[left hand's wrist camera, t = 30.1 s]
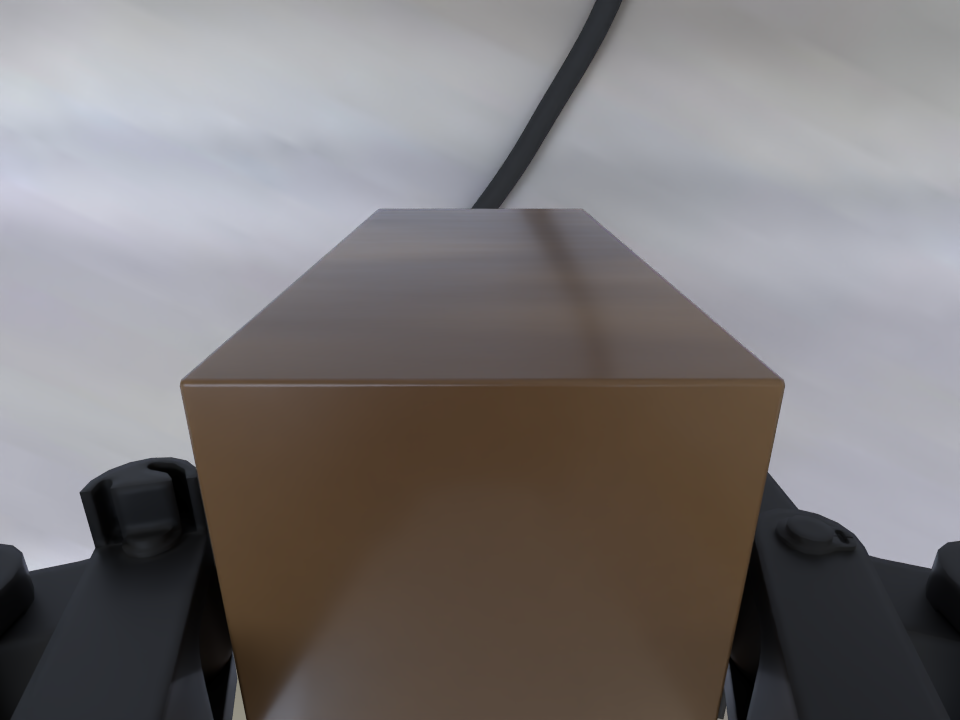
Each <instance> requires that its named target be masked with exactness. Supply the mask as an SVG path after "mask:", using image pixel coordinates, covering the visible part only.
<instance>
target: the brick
mask: <svg viewBox="0 0 960 720" xmlns="http://www.w3.org/2000/svg"><path fill="white" fill-rule="evenodd" d="M784 388H785V383H784V380H783V379H782V378H781V377H780V376H779V375H777V374H776V373H775V372H774V371H773V370H771V369H770V368H769V367H768V366H767V365H766V364H764V363H763V362H762V361H761V360H760V359H759V358H757V357H756V356H755V355H754V354H753V353H751V352H750V351H749V350H748V349H747V348H746V347H744V346H743V345H742V344H741V343H740V342H739V341H737V340H736V339H735V338H734V337H733V336H731V335H730V334H729V333H728V332H727V331H726V330H724V329H723V328H722V327H721V326H720V325H719V324H717V323H716V322H715V321H714V320H713V319H711V318H710V317H709V316H708V315H707V314H706V313H704V312H703V311H702V310H701V309H700V308H699V307H697V306H696V305H695V304H694V303H693V302H691V301H690V300H689V299H688V298H687V297H686V296H684V295H683V294H682V293H681V292H680V291H679V290H677V289H676V288H675V287H674V286H673V285H671V284H670V283H669V282H668V281H667V280H666V279H664V278H663V277H662V276H661V275H660V274H659V273H657V272H656V271H655V270H654V269H653V268H651V267H650V266H649V265H648V264H647V263H646V262H644V261H643V260H642V259H641V258H640V257H639V256H637V255H636V254H635V253H634V252H633V251H631V250H630V249H629V248H628V247H627V246H626V245H624V244H623V243H622V242H621V241H620V240H619V239H617V238H616V237H615V236H614V235H613V234H611V233H610V232H609V231H608V230H607V229H606V228H604V227H603V226H602V225H601V224H600V223H599V222H597V221H596V220H595V219H594V218H593V217H591V216H590V215H589V214H588V213H587V212H586V211H584V210H583V209H378V210H377V211H376V212H375V213H374V214H372V215H371V216H370V217H369V218H368V219H367V220H365V221H364V222H363V223H362V224H361V225H360V226H359V227H357V228H356V229H355V230H354V231H353V232H352V233H350V234H349V235H348V236H347V237H346V238H345V239H344V240H342V241H341V242H340V243H339V244H338V245H337V246H335V247H334V248H333V249H332V250H331V251H330V252H329V253H327V254H326V255H325V256H324V257H323V258H322V259H320V260H319V261H318V262H317V263H316V264H315V265H313V266H312V267H311V268H310V269H309V270H308V271H307V272H305V273H304V274H303V275H302V276H301V277H300V278H298V279H297V280H296V281H295V282H294V283H293V284H292V285H290V286H289V287H288V288H287V289H286V290H285V291H283V292H282V293H281V294H280V295H279V296H278V297H276V298H275V299H274V300H273V301H272V302H271V303H270V304H268V305H267V306H266V307H265V308H264V309H263V310H261V311H260V312H259V313H258V314H257V315H256V316H255V317H253V318H252V319H251V320H250V321H249V322H248V323H246V324H245V325H244V326H243V327H242V328H241V329H239V330H238V331H237V332H236V333H235V334H234V335H233V336H231V337H230V338H229V339H228V340H227V341H226V342H224V343H223V344H222V345H221V346H220V347H219V348H218V349H216V350H215V351H214V352H213V353H212V354H211V355H209V356H208V357H207V358H206V359H205V360H204V361H203V362H201V363H200V364H199V365H198V366H197V367H196V368H194V369H193V370H192V371H191V372H190V373H189V374H187V375H186V376H185V377H184V378H183V379H182V380H181V383H180V389H181V394H182V399H183V404H184V409H185V414H186V419H187V424H188V429H189V434H190V439H191V444H192V449H193V454H194V459H195V464H196V469H197V474H198V479H199V484H200V489H201V494H202V499H203V504H204V509H205V514H206V519H207V524H208V529H209V534H210V539H211V544H212V549H213V554H214V559H215V564H216V569H217V574H218V579H219V584H220V589H221V594H222V599H223V604H224V609H225V614H226V619H227V624H228V629H229V634H230V639H231V644H232V649H233V654H234V659H235V664H236V669H237V674H238V679H239V684H240V689H241V694H242V699H243V704H244V709H245V714H246V719H247V720H717V718H718V713H719V709H720V704H721V699H722V694H723V689H724V684H725V679H726V674H727V669H728V664H729V659H730V654H731V649H732V645H733V640H734V635H735V630H736V625H737V620H738V615H739V610H740V605H741V600H742V595H743V590H744V585H745V581H746V576H747V571H748V566H749V561H750V556H751V551H752V546H753V541H754V536H755V531H756V526H757V521H758V516H759V512H760V507H761V502H762V497H763V492H764V487H765V482H766V477H767V472H768V467H769V462H770V457H771V452H772V448H773V443H774V438H775V433H776V428H777V423H778V418H779V413H780V408H781V403H782V398H783V393H784Z"/></svg>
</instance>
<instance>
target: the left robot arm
mask: <svg viewBox="0 0 960 720" xmlns="http://www.w3.org/2000/svg"><path fill="white" fill-rule="evenodd" d="M621 2H622V0H596V2H595V5H594V7H593V9H592V11H591V13H590V15H589V18H588V20H587V22H586V24H585V25H584V27H583V29H582V31H581V33H580V35H579V37H578V39H577V41H576V42H575V44H574V46H573V48H572V50H571V51H570V53H569V55H568V57H567V58H566V60H565V62H564V63H563V65H562V67H561V68H560V70H559V72H558V74H557V75H556V77H555V79H554V80H553V82H552V84H551V85H550V87H549V89H548V90H547V92H546V94H545V95H544V97H543V99H542V100H541V102H540V104H539V105H538V107H537V109H536V110H535V112H534V114H533V116H532V117H531V119H530V121H529V123H528V124H527V126H526V128H525V129H524V131H523V133H522V135H521V136H520V138H519V140H518V141H517V143H516V145H515V146H514V148H513V150H512V151H511V153H510V154H509V156H508V158H507V159H506V161H505V162H504V164H503V165H502V167H501V168H500V170H499V171H498V173H497V174H496V176H495V177H494V178H493V180H492V181H491V183H490V184H489V185H488V187H487V188H486V190H485V191H484V192H483V194H482V195H481V196H480V198H479V199H478V201H477V202H476V203H475V204H474V206H473V207H472V208H471V209H498V208H499V206H500V205H501V204H502V202H503V201H504V200H505V198H506V197H507V196H508V194H509V193H510V191H511V190H512V189H513V187H514V186H515V184H516V183H517V181H518V180H519V179H520V177H521V176H522V174H523V173H524V171H525V170H526V168H527V167H528V165H529V163H530V162H531V160H532V159H533V157H534V156H535V154H536V152H537V151H538V149H539V147H540V146H541V144H542V142H543V141H544V139H545V137H546V136H547V134H548V132H549V130H550V129H551V127H552V125H553V124H554V122H555V120H556V119H557V117H558V115H559V114H560V112H561V111H562V109H563V107H564V106H565V104H566V102H567V101H568V99H569V97H570V96H571V94H572V93H573V91H574V89H575V88H576V86H577V84H578V83H579V81H580V79H581V78H582V76H583V75H584V73H585V71H586V69H587V68H588V66H589V64H590V63H591V61H592V59H593V58H594V56H595V54H596V52H597V50H598V49H599V47H600V45H601V43H602V41H603V39H604V38H605V36H606V34H607V32H608V30H609V28H610V26H611V24H612V22H613V20H614V17H615V15H616V13H617V11H618V9H619V7H620V4H621ZM80 496H81V499H82V503H83V506H84V510H85V513H86V517H87V520H88V524H89V527H90V531H91V534H92V538H93V541H94V544H95V550H94V552H93V554H92V556H91V558H90V559H86V560H83V561H79V562H74V563H69V564H64V565H59V566H54V567H49V568H44V569H39V570H34V571H28V568H27V565H26V562H25V559H24V556H23V553H22V552H21V551H19V550H18V549H17V548H16V547H14V546H13V545H5V544H0V720H232V716H233V708H234V700H235V692H236V684H237V673H236V666H235V661H234V656H233V649H232V644H231V639H230V634H229V629H228V624H227V619H226V614H225V609H224V604H223V599H222V594H221V589H220V584H219V579H218V574H217V569H216V564H215V559H214V554H213V549H212V544H211V539H210V534H209V529H208V524H207V519H206V514H205V509H204V504H203V499H202V494H201V489H200V484H199V479H198V474H197V469H196V467H195V466H193V465H192V464H191V463H189V462H188V461H186V460H182V459H177V458H172V457H167V458H149V459H144V460H139V461H135V462H130V463H127V464H124V465H122V466H119V467H116V468H114V469H111V470H108V471H107V472H105V473H103V474H102V475H100V476H98V477H96V478H95V479H93V480H91V481H90V482H89V483H88V484H87V485H86V486H85V487H84V488H83V489H82V490H81V492H80ZM726 706H727V714H728V720H960V541H956V542H948V543H946V544H945V545H944V546H942V547H941V548H940V549H939V550H938V552H937V555H936V558H935V560H934V563H933V566H932V569H930V568H925V567H920V566H915V565H910V564H905V563H900V562H895V561H890V560H885V559H880V558H876V557H873V556H869V555H868V553H867V551H866V549H865V547H864V546H863V544H862V543H861V542H860V541H859V539H858V538H857V537H856V536H855V534H853V533H852V532H850V531H849V530H848V529H846V528H845V527H843V526H842V525H840V524H839V523H837V522H835V521H833V520H830V519H828V518H826V517H823V516H821V515H819V514H816V513H811V512H807V511H803V510H799V509H798V508H797V507H796V506H795V505H794V503H793V502H792V501H791V500H790V499H789V497H788V496H787V495H786V494H785V492H784V491H783V490H782V489H781V488H780V486H779V485H778V484H777V483H776V481H775V480H774V479H773V478H772V477H771V475H770V474H769V473H768V472H767V477H766V482H765V487H764V492H763V497H762V502H761V507H760V512H759V516H758V521H757V526H756V531H755V536H754V541H753V546H752V551H751V556H750V561H749V566H748V571H747V576H746V581H745V585H744V590H743V595H742V600H741V605H740V610H739V615H738V620H737V625H736V630H735V635H734V640H733V645H732V649H731V654H730V659H729V664H728V669H727V674H726V679H725V684H724V689H723V694H722V699H721V704H720V709H719V713H718V718H719V719H723V718H724V714H725V709H726Z"/></svg>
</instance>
